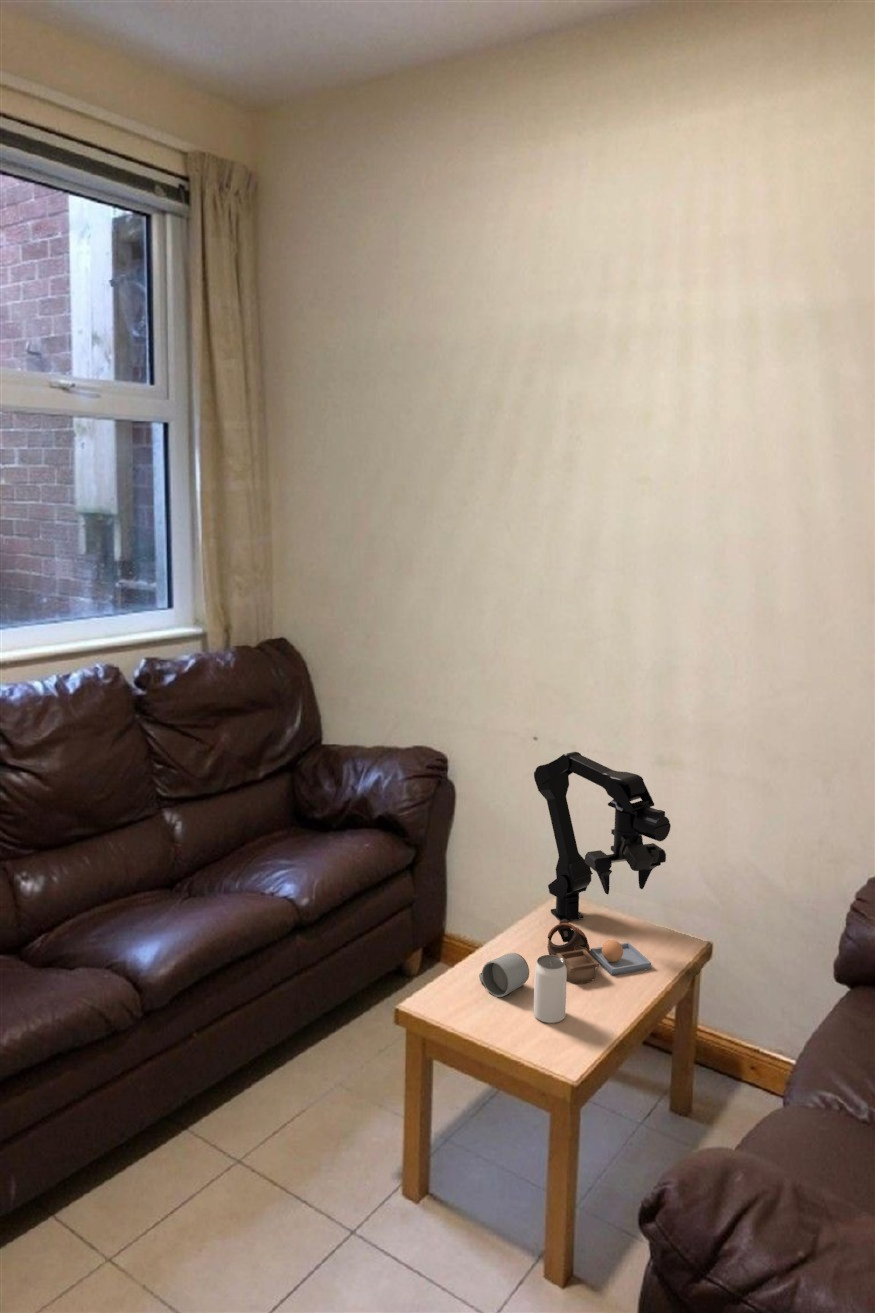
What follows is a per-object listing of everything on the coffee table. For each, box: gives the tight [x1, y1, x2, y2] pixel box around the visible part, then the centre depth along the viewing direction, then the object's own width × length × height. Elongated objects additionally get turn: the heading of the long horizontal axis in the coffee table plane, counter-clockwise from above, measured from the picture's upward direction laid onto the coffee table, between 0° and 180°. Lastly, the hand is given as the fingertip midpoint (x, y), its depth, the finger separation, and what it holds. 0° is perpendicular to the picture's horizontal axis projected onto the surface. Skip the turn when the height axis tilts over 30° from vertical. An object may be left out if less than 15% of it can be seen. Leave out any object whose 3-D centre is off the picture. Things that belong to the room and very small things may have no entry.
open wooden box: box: [555, 948, 600, 985], centre depth 207 cm, size 8×8×4 cm
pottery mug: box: [547, 919, 591, 956], centre depth 217 cm, size 12×10×8 cm
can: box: [533, 954, 567, 1025], centre depth 190 cm, size 6×6×12 cm
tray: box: [590, 941, 652, 977], centre depth 213 cm, size 10×10×2 cm
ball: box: [601, 939, 623, 962], centre depth 212 cm, size 5×5×5 cm
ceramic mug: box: [478, 952, 530, 998], centre depth 202 cm, size 11×8×8 cm
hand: (624, 891), depth 220 cm, fingers open, 9 cm apart
